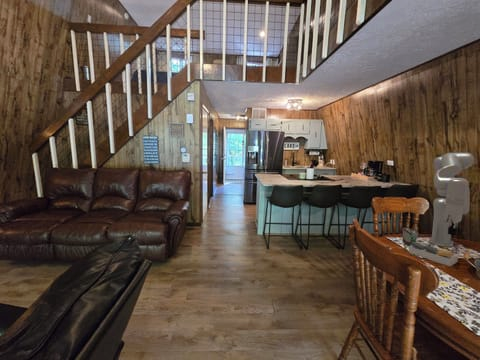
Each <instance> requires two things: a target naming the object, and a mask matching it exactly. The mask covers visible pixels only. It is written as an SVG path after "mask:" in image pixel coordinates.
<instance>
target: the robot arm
mask: <svg viewBox="0 0 480 360" xmlns="http://www.w3.org/2000/svg"><path fill="white" fill-rule="evenodd" d="M474 161H475V158H474V155H473V154H472V153H470V152H446V153H445V154H443V155H442V156H438V157H435V158H434V159H433V168H434V172H435V173H434V176H433V185H434V188H435V189H436V193H437V195H438V196H440V197H437V198H435V199H434V200H433V202H432V206H433V220H432V221H433V223H432V231H431V232H432V234H431V238H428V242H429V243H430V244H432V245H434V246H435V245H436V246H439V247H445V248H450V247H451V248H452V247H453V246H454V243H453V242H451V240H452V239H451V238H452V236H454V237H455V236H457V232H458V225H459V223H460V222H461V221H463V220H462V219H463V215H466V214H469V211H470V204H471V202H470V201H471V199H470V195H471V192H470V187H469V186H470V185H469V184H470V182H469V181H468V180H467V179H466V178H464V177H455V176H458V175H459V174H461V172H462V171H463V170H467V169H468V168H471V167H472V165H473V164H474Z"/></svg>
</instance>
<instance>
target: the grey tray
mask: <svg viewBox="0 0 480 360" xmlns="http://www.w3.org/2000/svg"><path fill="white" fill-rule="evenodd" d="M436 249H437V248H436ZM437 250H438V251H440V250H441V249H437ZM408 252H409V254H412V255H414V254H415V255H414V256H417V255H419V256H418V257H420V256H421V257H420V258H423V257H424V258H423V259H426V258H427V260H429V261H432V262H435V263H438V264H441V265H444V266H447V267H452V266H453V265H455V264H456V263H458V259H459V255H458V254H455V253H453V255H452V256H447V257H444V256H442V255H437V253H435V254H434V253H432V252H431V253H430V252H428V251H427V250H425V249H419V248H418V249H417V248H415V247H414V246H409V247H408Z"/></svg>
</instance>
